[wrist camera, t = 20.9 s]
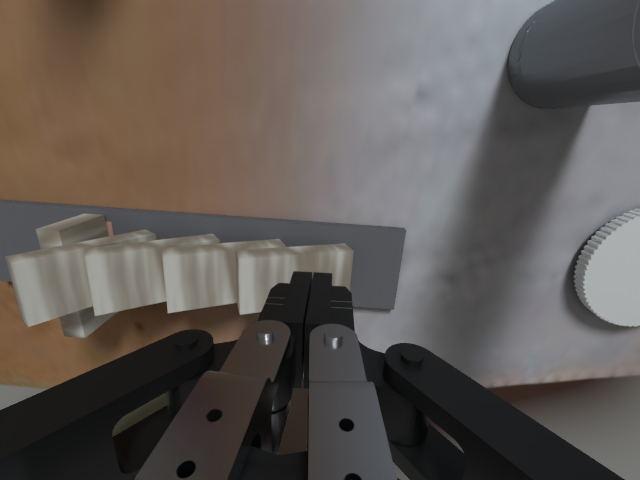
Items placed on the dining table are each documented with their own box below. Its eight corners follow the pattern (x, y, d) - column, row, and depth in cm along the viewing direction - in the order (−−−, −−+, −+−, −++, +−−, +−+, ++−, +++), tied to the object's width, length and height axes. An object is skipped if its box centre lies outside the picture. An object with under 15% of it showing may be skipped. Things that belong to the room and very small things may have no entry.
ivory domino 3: (285, 245, 36) (162, 256, 31) (284, 295, 38) (167, 313, 33) (279, 238, 38) (162, 247, 33) (277, 286, 40) (167, 301, 35)
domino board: (404, 228, 38) (406, 230, 37) (392, 305, 41) (393, 310, 40) (-13, 198, 38) (-23, 200, 37) (8, 277, 42) (0, 281, 41)
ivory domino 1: (155, 234, 37) (11, 264, 28) (161, 283, 38) (28, 326, 29) (145, 229, 38) (4, 256, 29) (151, 277, 40) (21, 317, 31)
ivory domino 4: (353, 250, 36) (238, 259, 31) (348, 300, 38) (239, 314, 33) (344, 243, 38) (235, 250, 34) (340, 290, 40) (236, 302, 36)
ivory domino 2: (219, 240, 36) (84, 257, 29) (221, 289, 38) (94, 316, 31) (212, 233, 38) (84, 248, 31) (214, 281, 40) (94, 304, 33)
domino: (58, 230, 32) (85, 337, 36) (104, 214, 37) (122, 308, 41) (35, 229, 32) (64, 336, 36) (84, 213, 37) (104, 307, 41)
